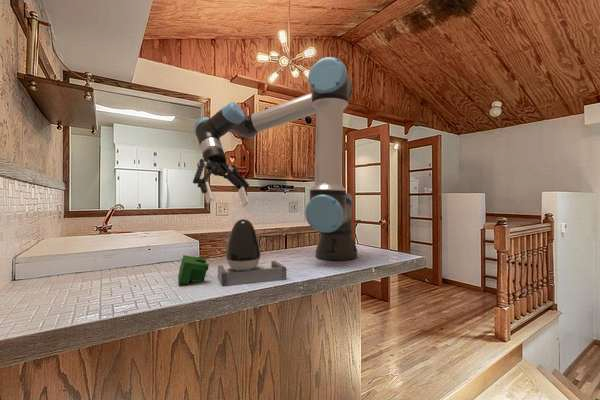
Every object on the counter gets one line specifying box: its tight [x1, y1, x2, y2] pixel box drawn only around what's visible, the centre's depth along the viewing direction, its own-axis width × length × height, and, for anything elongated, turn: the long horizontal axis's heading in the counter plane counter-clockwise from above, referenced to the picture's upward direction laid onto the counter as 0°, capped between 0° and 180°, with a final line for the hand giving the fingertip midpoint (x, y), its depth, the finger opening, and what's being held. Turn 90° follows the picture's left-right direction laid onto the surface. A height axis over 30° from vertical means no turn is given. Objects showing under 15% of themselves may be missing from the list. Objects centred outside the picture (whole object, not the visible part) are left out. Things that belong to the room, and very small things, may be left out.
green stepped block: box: [177, 254, 210, 286], centre depth 79 cm, size 12×6×9 cm, turn 17°
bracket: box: [217, 260, 287, 287], centre depth 80 cm, size 16×10×3 cm, turn 111°
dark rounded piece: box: [225, 218, 262, 271], centre depth 91 cm, size 10×10×15 cm
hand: (228, 202), depth 98 cm, fingers open, 13 cm apart
